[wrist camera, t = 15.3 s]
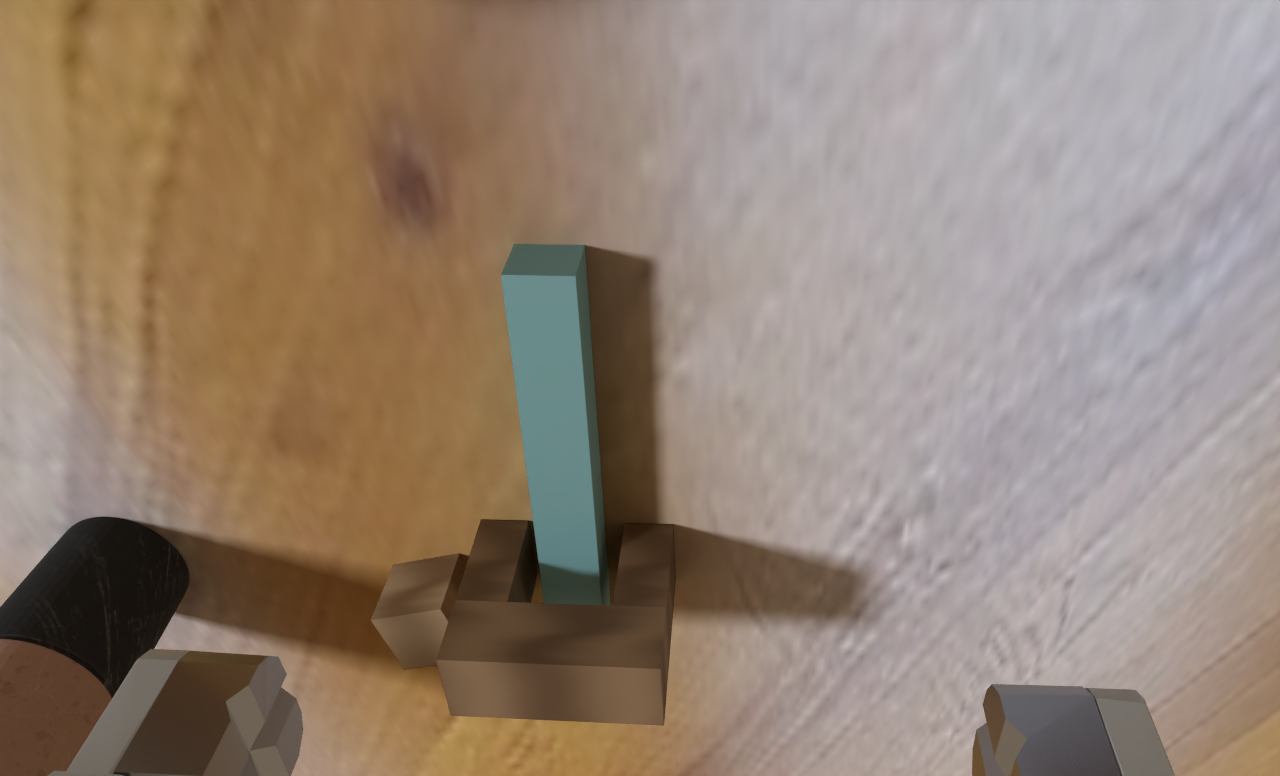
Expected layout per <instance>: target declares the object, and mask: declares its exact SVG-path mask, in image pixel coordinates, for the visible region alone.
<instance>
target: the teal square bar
mask: <svg viewBox="0 0 1280 776" xmlns="http://www.w3.org/2000/svg"><path fill="white" fill-rule="evenodd" d="M501 278H502V286H503V293H504V301H505V309H506V316H507V324H508V332H509V339H510V347H511V355H512V362H513V370H514V378H515V386H516V393H517V401H518V409H519V416H520V424H521V432H522V439H523V447H524V455H525V462H526V470H527V478H528V485H529V493H530V501H531V508H532V516H533V524H534V531H535V539H536V547H537V554H538V562H539V570H540V578H541V585H542V593H543V601H544V603H553V604H583V605H611V602H610V588H609V575H608V561H607V547H606V533H605V519H604V505H603V491H602V477H601V463H600V450H599V436H598V422H597V408H596V394H595V380H594V366H593V352H592V338H591V325H590V311H589V297H588V283H587V269H586V255H585V245H536V244H514V246H513V248H512V250H511V253H510V255H509V258H508V260H507V262H506V265H505V267H504V269H503V272H502V274H501Z"/></svg>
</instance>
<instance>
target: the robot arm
mask: <svg viewBox="0 0 1280 776" xmlns="http://www.w3.org/2000/svg"><path fill="white" fill-rule="evenodd" d="M286 675H287V674H286V672H285V670H284V668H283V666H282V663H281V661H280V659H279V657H277V656H262V655H246V654H231V653H215V652H200V651H185V650H164V649H150V650H149V651H147V652H146V653H145V654H144V655H142V656H141V657H140V658H138V659H137V661H136V662H135V663H134V665H133V667H132V668H131V670H130V671H129V673H128V675H127V676H126V678H125V679H124V681H123V682H122V684H121V686H120V687H119V689H118V690H117V692H116V693H115V695H114V697H113V698H112V700H111V701H110V703H109V705H108V706H107V708H106V709H105V711H104V712H103V714H102V716H101V717H100V719H99V720H98V722H97V723H96V725H95V727H94V728H93V730H92V731H91V733H90V734H89V736H88V738H87V739H86V741H85V742H84V744H83V746H82V747H81V749H80V750H79V752H78V753H77V755H76V757H75V758H74V760H73V761H72V763H71V764H70V766H69V768H68V769H67V771H53V772H52V773H50V774H49V775H48V776H291V774H292V772H293V769H294V767H295V764H296V762H297V759H298V757H299V752H300V746H301V740H302V734H303V722H302V712H301V709H300V707H299V704H298V701H297V699H296V698H295V697H294V696H292V695H291V694H289V693H288V692H287V691H285V690H284V689H283V688H281V686H282V684H283V682H284V679H285V677H286ZM983 707H984V712H985V716H986V721H987V723H986V724H984V725H983V726H981V727H980V728H978V729H977V730H976V735H975V740H974V745H973V761H972V775H973V776H1175V774H1174V772H1173V769H1172V767H1171V764H1170V762H1169V759H1168V757H1167V754H1166V752H1165V749H1164V747H1163V744H1162V742H1161V739H1160V737H1159V734H1158V732H1157V729H1156V727H1155V725H1154V722H1153V720H1152V717H1151V715H1150V712H1149V710H1148V707H1147V705H1146V702H1145V700H1144V698H1143V697H1142V696H1141V695H1140V694H1139V693H1138V692H1137V691H1136V690H1131V689H1101V688H1083V687H1081V686H1044V685H1006V684H992V685H991V686H990V687H989V688H988V689H987V691H986V695H985V699H984V702H983Z"/></svg>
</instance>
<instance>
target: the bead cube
mask: <svg viewBox="0 0 1280 776" xmlns="http://www.w3.org/2000/svg"><path fill="white" fill-rule="evenodd" d="M465 568H466V564H465V562H464V561H463V559H462V557H461V556H460V554H453V555H447V556H441V557H435V558H430V559H424V560H418V561H412V562H406V563H401V564H395V565H393V566H392V569H391V571H390V574H389V576H388V579H387V581H386V584H385V586H384V588H383V591H382V593H381V596H380V598H379V601H378V603H377V606H376V608H375V610H374V613H373V615H372V618H371V622H372V623H373V625H374V626H375V627H376V629H377V630H378V632H379V633H380V635H381V636H382V638H383V639H384V641H385V642H386V644H387V645H388V647H389V648H390V649H391V651H392V652H393V654H394V655H395V657H396V658H397V660H398V661H399V663H400V664H401V666H402V667H403V669H404V670H405V669H412V668H419V667H426V666H434V665H437V661H436V659H437V656H438V652H439V649H440V646H441V643H442V640H443V637H444V634H445V631H446V627H447V624H448V621H449V618H450V615H451V612H452V609H453V606H454V602H455V599H456V596H457V593H458V590H459V587H460V584H461V581H462V577H463V574H464V571H465Z"/></svg>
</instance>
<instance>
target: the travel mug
mask: <svg viewBox="0 0 1280 776" xmlns="http://www.w3.org/2000/svg"><path fill="white" fill-rule="evenodd" d="M188 583H189V573H188V569H187V566H186V564H185V562H184V560H183V558H182V557H181V556H180V554H179V553H178V552H177V550H176V549H175V548H174V547H173V546H172V545H171V544H170V543H168V542H167V541H166V540H165V539H163V538H162V537H161V536H159V535H158V534H156V533H154V532H153V531H151V530H149V529H147V528H145V527H143V526H141V525H138V524H136V523H133V522H130V521H126V520H122V519H117V518H110V517H95V518H89V519H86V520H82V521H80V522H78V523H76V524H75V525H74V526H72V527H71V528H70V529H69V530H68V531H67V532H66V533H65V534H64V535H63V536H62V537H61V538H60V539H59V541H58V542H57V543H56V544H55V545H54V546H53V547H52V548H51V550H50V551H49V552H48V553H47V554H46V555H45V556H44V558H43V559H42V560H41V561H40V562H39V563H38V564H37V566H36V567H35V568H34V569H33V570H32V571H31V572H30V574H29V575H28V576H27V577H26V578H25V579H24V581H23V582H22V583H21V584H20V585H19V586H18V587H17V589H16V590H15V591H14V592H13V593H12V594H11V596H10V597H9V598H8V599H7V600H6V601H5V602H4V604H3V605H2V606H1V607H0V776H48V775H49V774H50V773H52V772H53V771H67V769H68V768H69V766H70V764H71V763H72V761H73V760H74V758H75V757H76V755H77V753H78V752H79V750H80V749H81V747H82V746H83V744H84V742H85V741H86V739H87V738H88V736H89V734H90V733H91V731H92V730H93V728H94V727H95V725H96V723H97V722H98V720H99V719H100V717H101V716H102V714H103V712H104V711H105V709H106V708H107V706H108V705H109V703H110V701H111V700H112V698H113V697H114V695H115V693H116V692H117V690H118V689H119V687H120V686H121V684H122V682H123V681H124V679H125V678H126V676H127V675H128V673H129V671H130V670H131V668H132V667H133V665H134V663H135V662H136V661H137V659H138V658H140V657H141V656H142V655H144V654H145V653H146V652H147V651H149V650H150V649H154V648H155V646H156V644H157V643H158V641H159V639H160V637H161V636H162V634H163V632H164V630H165V629H166V627H167V625H168V623H169V622H170V620H171V618H172V616H173V615H174V613H175V611H176V609H177V607H178V606H179V604H180V602H181V600H182V598H183V596H184V594H185V592H186V590H187V588H188Z"/></svg>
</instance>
